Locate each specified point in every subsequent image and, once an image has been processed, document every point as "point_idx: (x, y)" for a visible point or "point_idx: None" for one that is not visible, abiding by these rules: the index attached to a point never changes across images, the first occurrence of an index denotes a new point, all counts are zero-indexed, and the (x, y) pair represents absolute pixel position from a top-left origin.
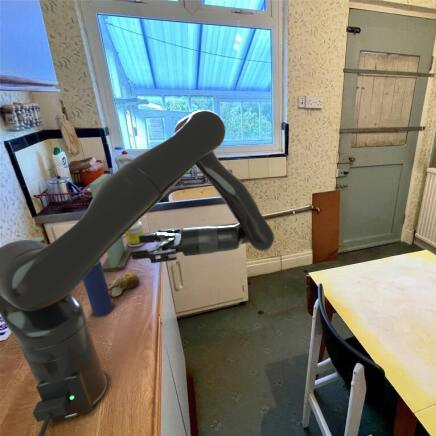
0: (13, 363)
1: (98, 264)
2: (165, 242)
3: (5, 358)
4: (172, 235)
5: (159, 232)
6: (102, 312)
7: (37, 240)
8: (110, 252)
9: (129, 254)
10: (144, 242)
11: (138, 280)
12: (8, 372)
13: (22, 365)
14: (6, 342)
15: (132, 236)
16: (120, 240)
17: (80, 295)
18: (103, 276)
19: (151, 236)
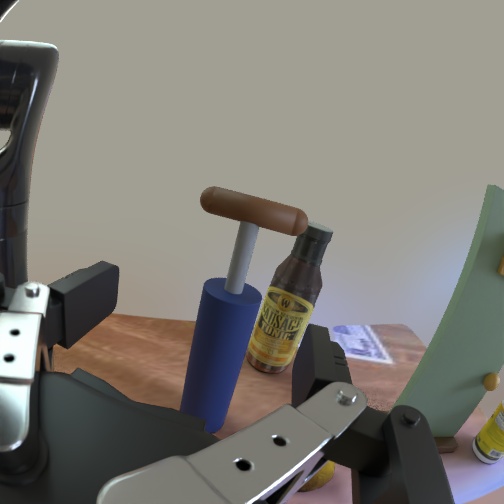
0: (133, 320)
1: (216, 299)
2: (2, 359)
3: (151, 317)
4: (106, 499)
5: (383, 426)
6: (180, 409)
7: (314, 225)
8: (405, 396)
9: (441, 449)
10: (294, 378)
11: (304, 488)
12: (118, 315)
13: (120, 324)
14: (188, 321)
15: (492, 428)
16: (463, 407)
17: (283, 390)
18: (213, 348)
19: (309, 377)
